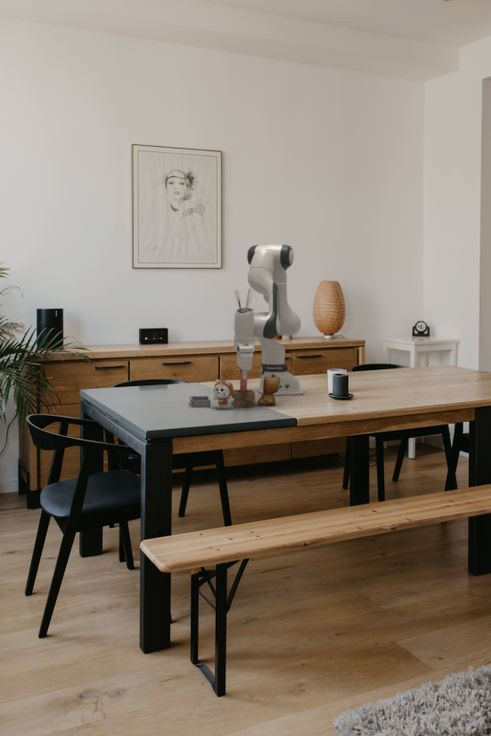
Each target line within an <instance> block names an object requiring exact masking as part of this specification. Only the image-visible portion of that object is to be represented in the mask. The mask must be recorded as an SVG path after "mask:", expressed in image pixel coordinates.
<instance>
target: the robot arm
mask: <svg viewBox="0 0 491 736" xmlns="http://www.w3.org/2000/svg"><path fill="white" fill-rule="evenodd" d="M294 254H295V253H294V249H293V248H292V246H290V245H289V244H275V243H274V244H273V243H272V244H271V243H270V244H262V245H258V244H256V245H252V246H251V247H249V249H248V251H247V255H246V256H247V257H246V258H247V259H246V260H247V262H248V265H249V270H248V273H247V274H248V275H247V282H248V284H249V287H250V288H251V289H252V290H254V291H255V292H257V293H259V294H260V295H263V300H264V301H265V302H266V303H267V304H268V312H267V311H257V312H255V311H254V309H253V308H250V307H243V308H239V309H238V308H237V309H236V312H235V314H234V323H233V325H234V326H233V329H234V330H233V331H234V338H233V350H234V351H235V352H236V364H237V366H238V367H239V370H240V369H242V378H243V379H247V380H248V371H251V370H252V367H253V357H254V356H253V355H254V353H255V340H256V339H255V338H257V339H258V341H259V344H260V348H261V363H260V381H259V387H258V390H257V391H258V393H261V394H263V384H264V377H265V376H266V377H270V376H271V375H272V374H275V377H276V376H279V377H280V385H279V389H278V391H277V392H276V393H273V396H282V395H283V396H287V395H304V394H305V390H304V389H301V386H300V381H299V380H298V378H296V377H295V376H294V375H293V374H292V373H290V372H289V371H290V370H291V368H292V367H291V365H289V364H286V361H285V360H286V359H285V356H286V348H285V346H284V345H283V344H281V342H278V341H276V340H275V338H277V337H278V336H292V335H297V333H298V332H299V331H300V329H301V327H302V322H301V318H300V317H299V314H297V313H295V312H294V311H293V309H292V308H291V306H290V303H289V301H288V294H287V293H288V291H287V285H288V278H287V270H288V268H290V267H291V266H292V265H293V263H294V258H295V255H294Z"/></svg>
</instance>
